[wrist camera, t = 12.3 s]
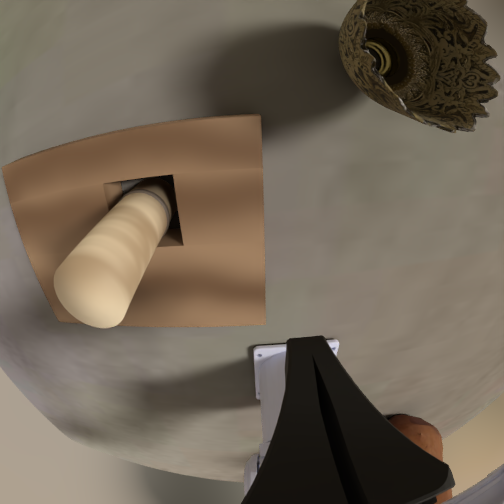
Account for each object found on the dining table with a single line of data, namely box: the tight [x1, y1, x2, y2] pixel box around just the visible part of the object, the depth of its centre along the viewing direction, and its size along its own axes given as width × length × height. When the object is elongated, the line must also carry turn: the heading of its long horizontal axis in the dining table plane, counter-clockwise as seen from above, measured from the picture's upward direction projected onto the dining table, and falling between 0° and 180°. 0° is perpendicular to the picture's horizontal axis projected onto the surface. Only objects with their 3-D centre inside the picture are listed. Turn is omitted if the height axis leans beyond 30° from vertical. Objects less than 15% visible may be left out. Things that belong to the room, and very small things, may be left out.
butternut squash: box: [388, 414, 452, 504], centre depth 27 cm, size 14×13×25 cm
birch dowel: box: [54, 178, 177, 328], centre depth 13 cm, size 3×3×10 cm
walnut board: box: [2, 114, 266, 327], centre depth 18 cm, size 14×18×2 cm
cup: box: [339, 0, 500, 133], centre depth 10 cm, size 8×7×8 cm
